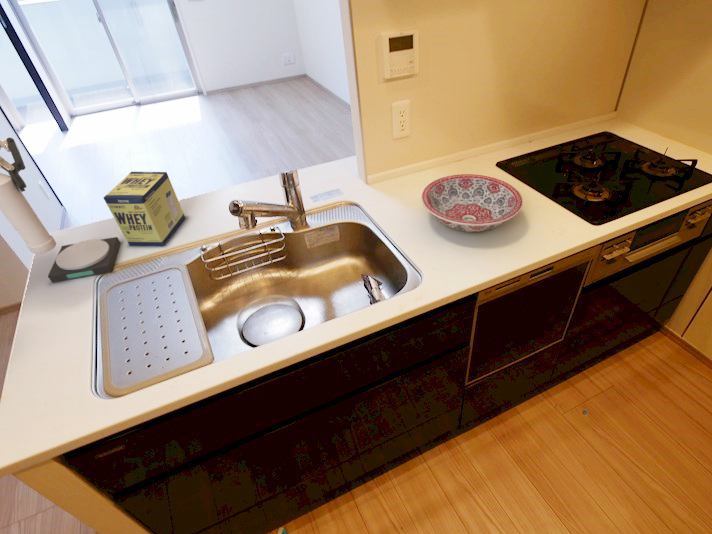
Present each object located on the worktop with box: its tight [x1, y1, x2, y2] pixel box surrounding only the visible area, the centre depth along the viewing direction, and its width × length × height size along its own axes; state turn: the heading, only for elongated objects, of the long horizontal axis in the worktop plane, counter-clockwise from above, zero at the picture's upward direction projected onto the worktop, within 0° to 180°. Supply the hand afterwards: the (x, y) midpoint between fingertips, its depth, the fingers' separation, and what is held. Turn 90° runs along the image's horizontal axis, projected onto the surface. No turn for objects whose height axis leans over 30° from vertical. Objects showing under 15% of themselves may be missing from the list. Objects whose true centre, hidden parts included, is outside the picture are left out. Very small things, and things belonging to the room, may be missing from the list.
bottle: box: [0, 172, 57, 255], centre depth 88 cm, size 5×5×25 cm
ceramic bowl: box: [421, 173, 524, 233], centre depth 126 cm, size 29×29×8 cm
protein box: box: [103, 171, 186, 247], centre depth 121 cm, size 10×16×16 cm
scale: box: [47, 236, 121, 284], centre depth 115 cm, size 14×14×3 cm
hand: (6, 194), depth 86 cm, fingers closed on bottle, 5 cm apart
